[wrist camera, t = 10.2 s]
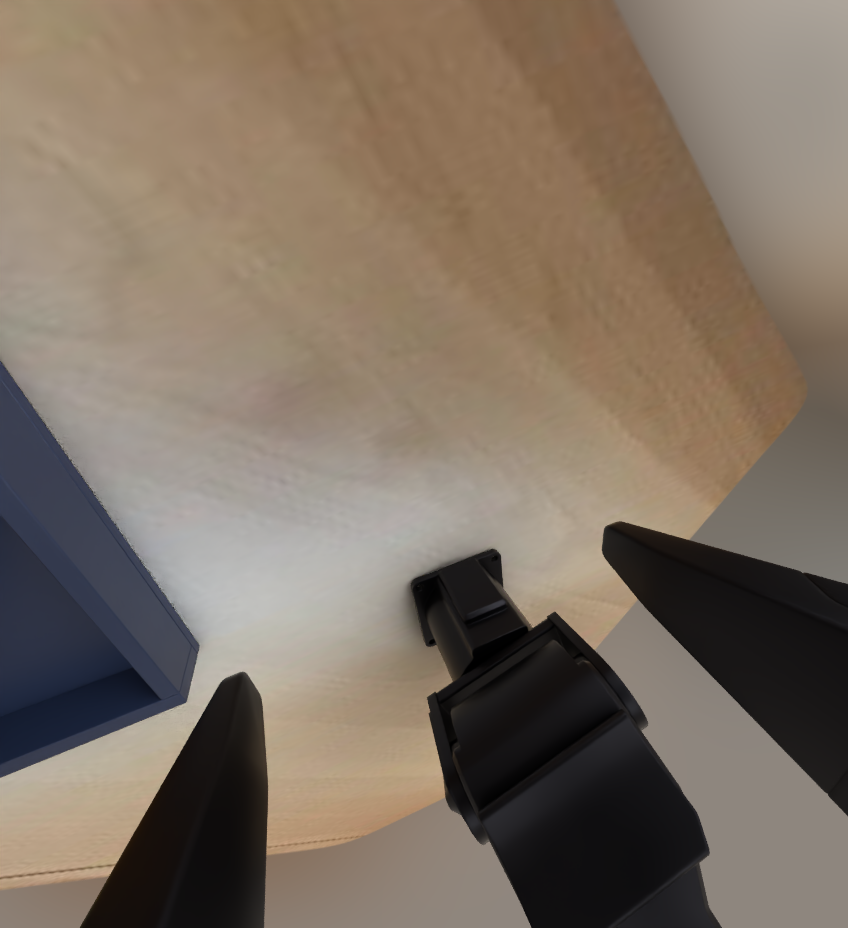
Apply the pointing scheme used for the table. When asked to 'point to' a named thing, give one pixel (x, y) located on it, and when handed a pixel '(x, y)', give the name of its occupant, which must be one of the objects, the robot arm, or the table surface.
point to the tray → (72, 606)
